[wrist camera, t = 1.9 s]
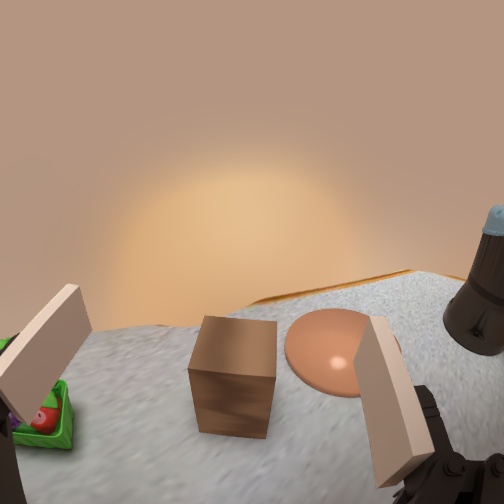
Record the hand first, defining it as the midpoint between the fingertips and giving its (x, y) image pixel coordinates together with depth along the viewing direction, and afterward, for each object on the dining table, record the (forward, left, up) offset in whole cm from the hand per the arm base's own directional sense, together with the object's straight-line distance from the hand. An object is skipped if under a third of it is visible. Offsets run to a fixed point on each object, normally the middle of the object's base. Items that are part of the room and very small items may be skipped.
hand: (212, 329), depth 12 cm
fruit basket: (+22, 0, -21) cm, 30 cm away
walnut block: (0, -9, -21) cm, 23 cm away
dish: (-14, -20, -21) cm, 32 cm away
